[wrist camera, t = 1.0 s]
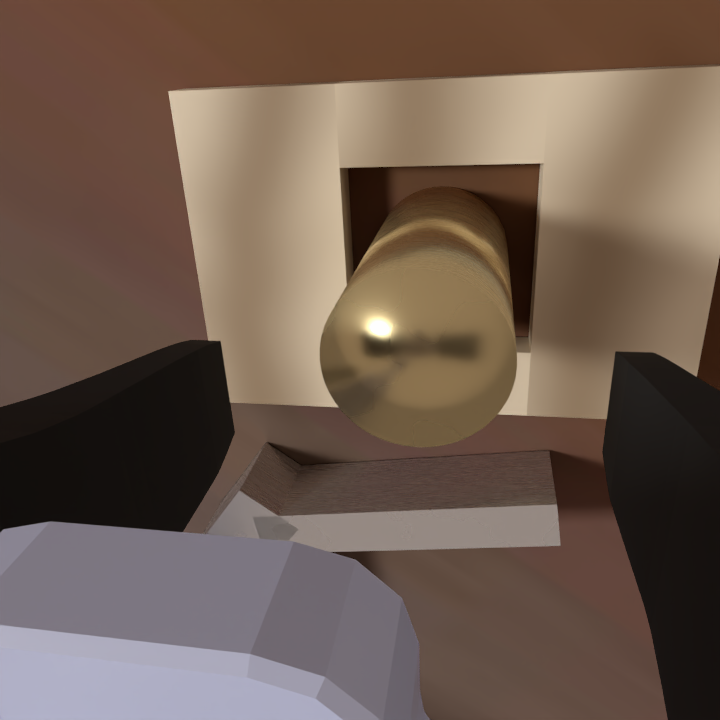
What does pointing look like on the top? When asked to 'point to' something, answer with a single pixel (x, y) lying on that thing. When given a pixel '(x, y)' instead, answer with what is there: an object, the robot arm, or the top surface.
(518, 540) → the grey angled bracket
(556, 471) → the top surface
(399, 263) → the brass axle
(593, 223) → the beige plate with hole
